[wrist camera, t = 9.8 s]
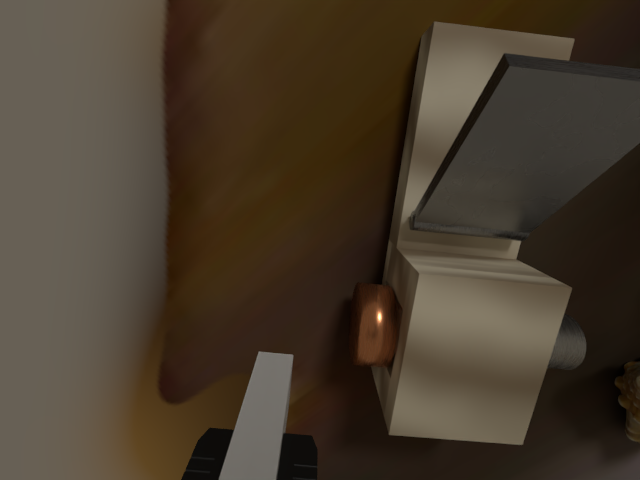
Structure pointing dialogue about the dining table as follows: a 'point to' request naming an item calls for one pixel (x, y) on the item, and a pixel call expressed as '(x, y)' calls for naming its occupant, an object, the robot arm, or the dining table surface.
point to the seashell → (630, 398)
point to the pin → (385, 319)
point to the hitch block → (463, 270)
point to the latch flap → (531, 146)
